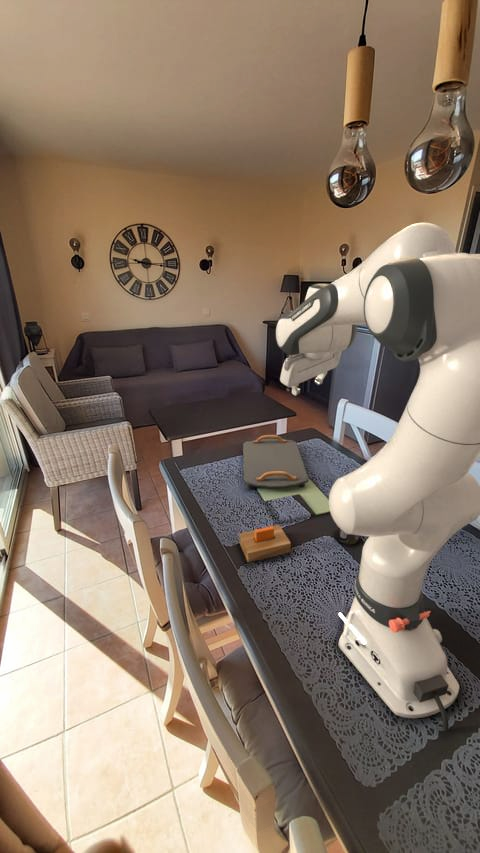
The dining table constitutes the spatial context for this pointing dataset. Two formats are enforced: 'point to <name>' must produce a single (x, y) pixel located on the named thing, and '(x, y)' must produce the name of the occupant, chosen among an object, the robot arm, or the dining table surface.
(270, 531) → the block
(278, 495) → the mat
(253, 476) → the serving tray
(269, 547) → the token holder
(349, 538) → the beer glass
